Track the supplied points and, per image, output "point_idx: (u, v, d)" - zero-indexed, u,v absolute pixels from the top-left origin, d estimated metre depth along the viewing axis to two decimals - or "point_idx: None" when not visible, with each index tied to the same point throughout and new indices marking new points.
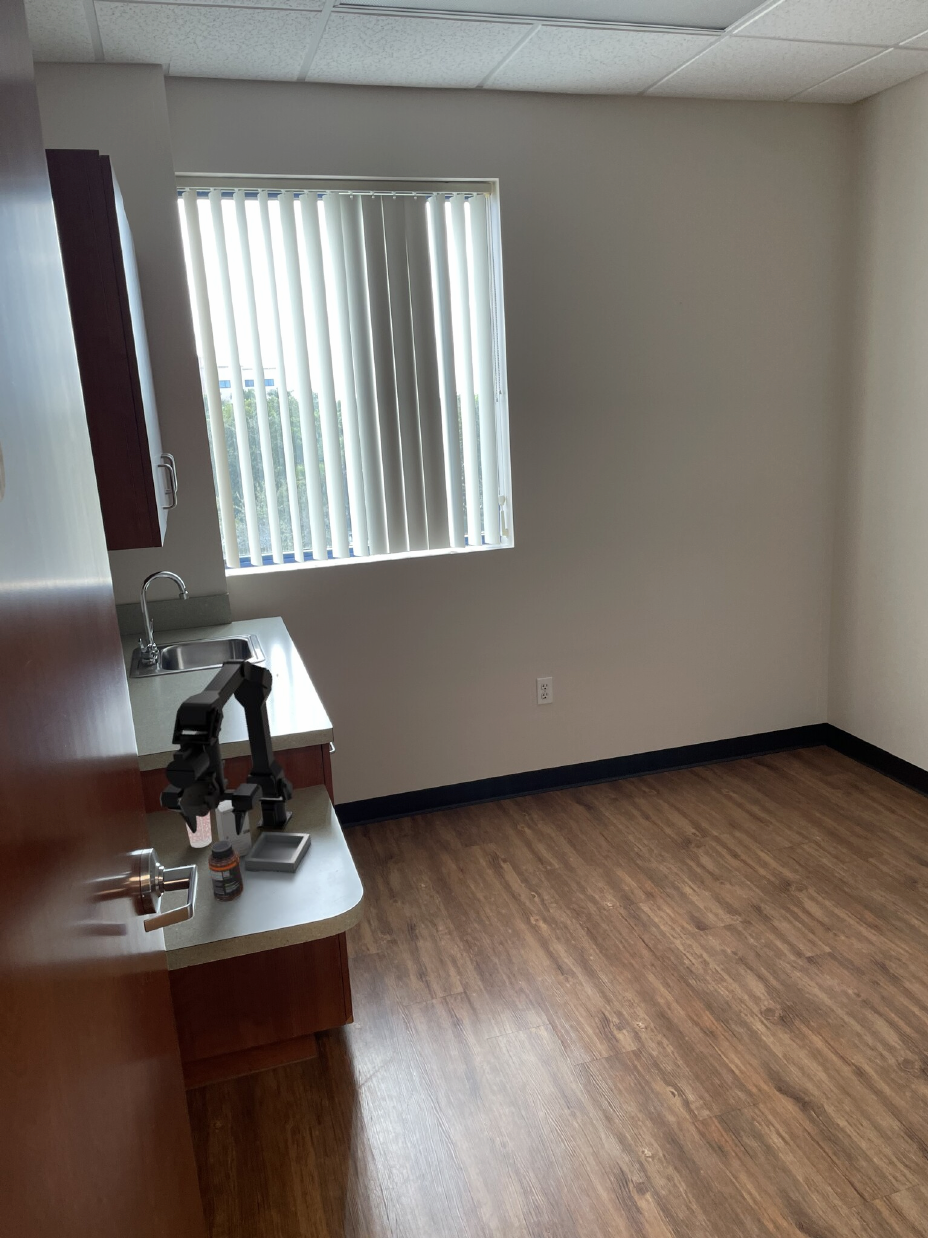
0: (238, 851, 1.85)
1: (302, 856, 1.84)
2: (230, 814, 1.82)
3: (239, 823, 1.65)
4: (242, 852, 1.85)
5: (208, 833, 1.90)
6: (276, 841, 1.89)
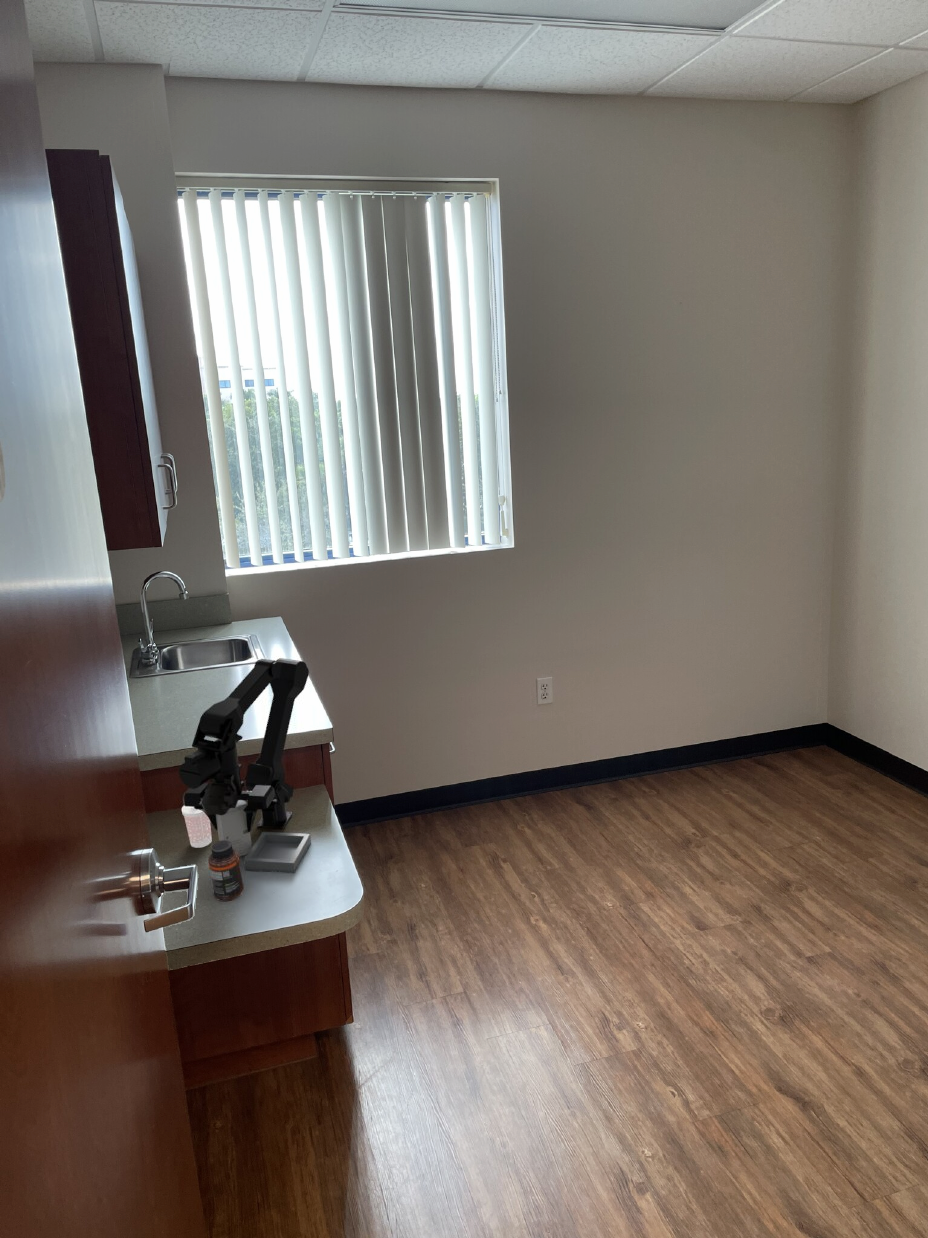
0: (238, 851, 1.85)
1: (302, 856, 1.84)
2: (230, 814, 1.82)
3: (250, 821, 1.83)
4: (242, 852, 1.85)
5: (208, 833, 1.90)
6: (276, 841, 1.89)
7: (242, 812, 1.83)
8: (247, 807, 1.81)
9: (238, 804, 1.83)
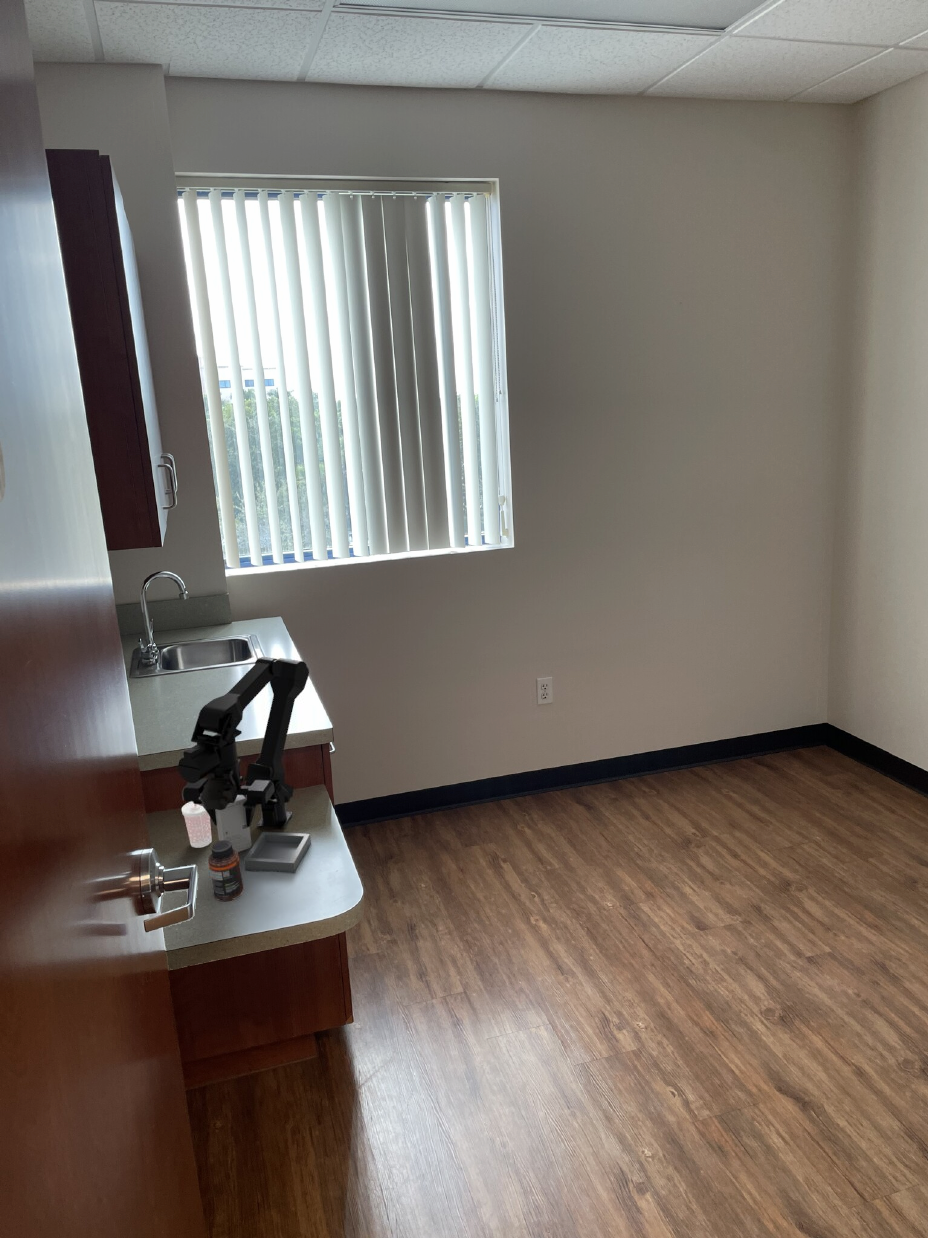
0: (237, 846, 1.84)
1: (302, 856, 1.84)
2: (229, 808, 1.81)
3: (249, 816, 1.82)
4: (241, 847, 1.85)
5: (208, 833, 1.90)
6: (276, 841, 1.89)
7: (241, 807, 1.83)
8: (246, 802, 1.80)
9: (237, 799, 1.83)
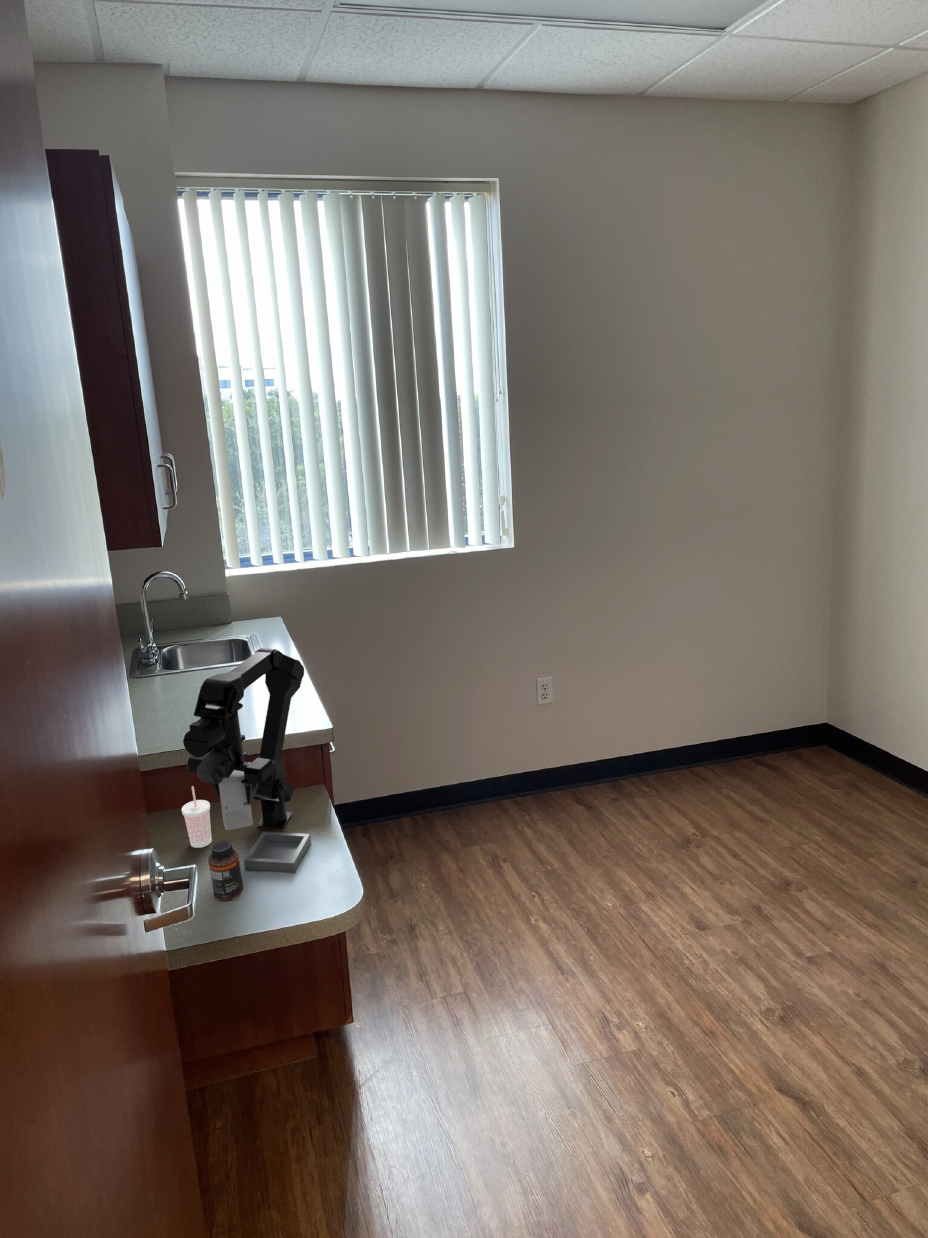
0: (238, 822, 1.82)
1: (302, 856, 1.84)
2: (230, 783, 1.79)
3: (249, 793, 1.79)
4: (242, 823, 1.82)
5: (208, 833, 1.90)
6: (276, 841, 1.89)
7: (242, 783, 1.80)
8: (245, 779, 1.77)
9: (239, 775, 1.80)
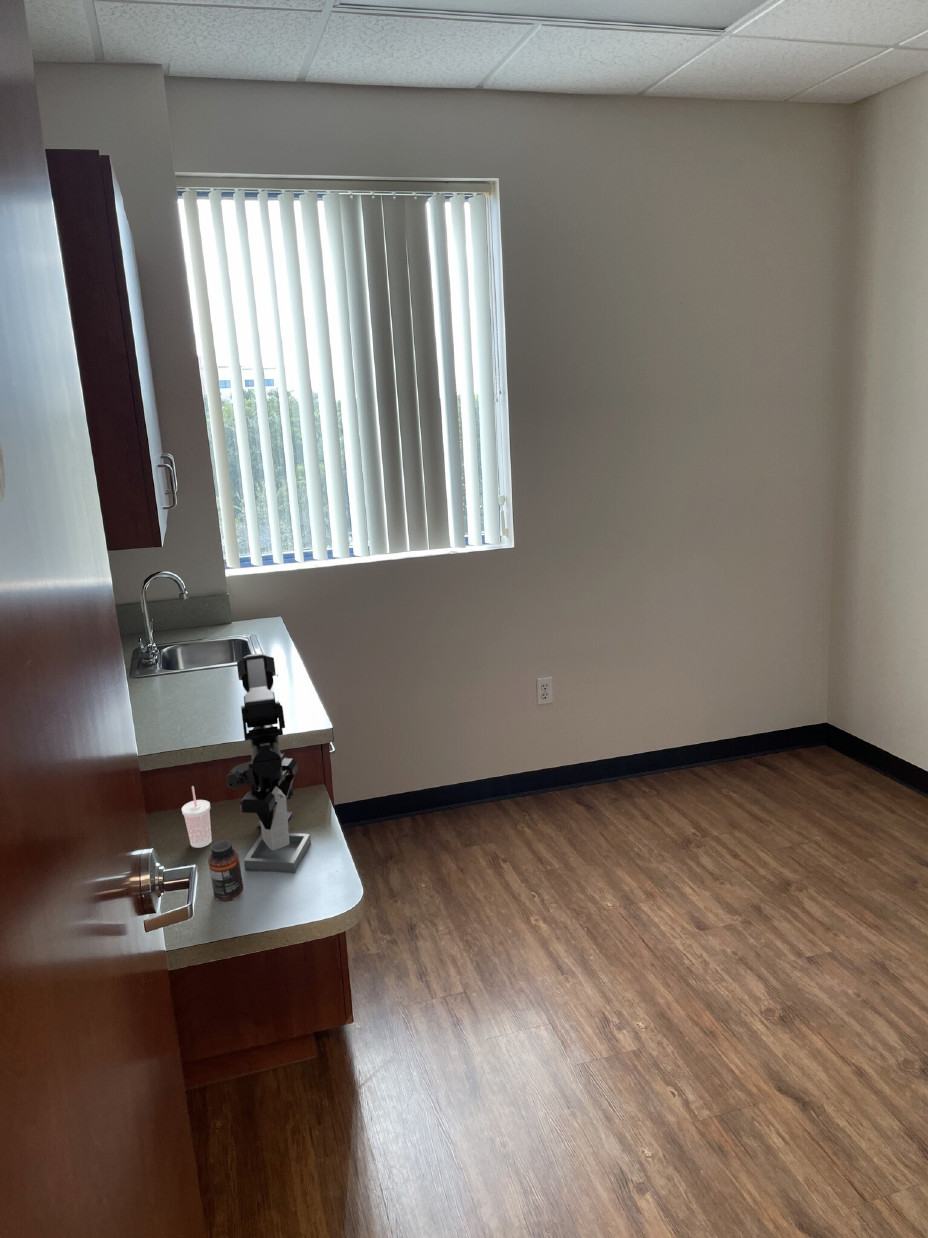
0: (265, 839, 1.82)
1: (302, 856, 1.84)
2: None
3: None
4: (267, 842, 1.82)
5: (208, 833, 1.90)
6: None
7: None
8: None
9: None
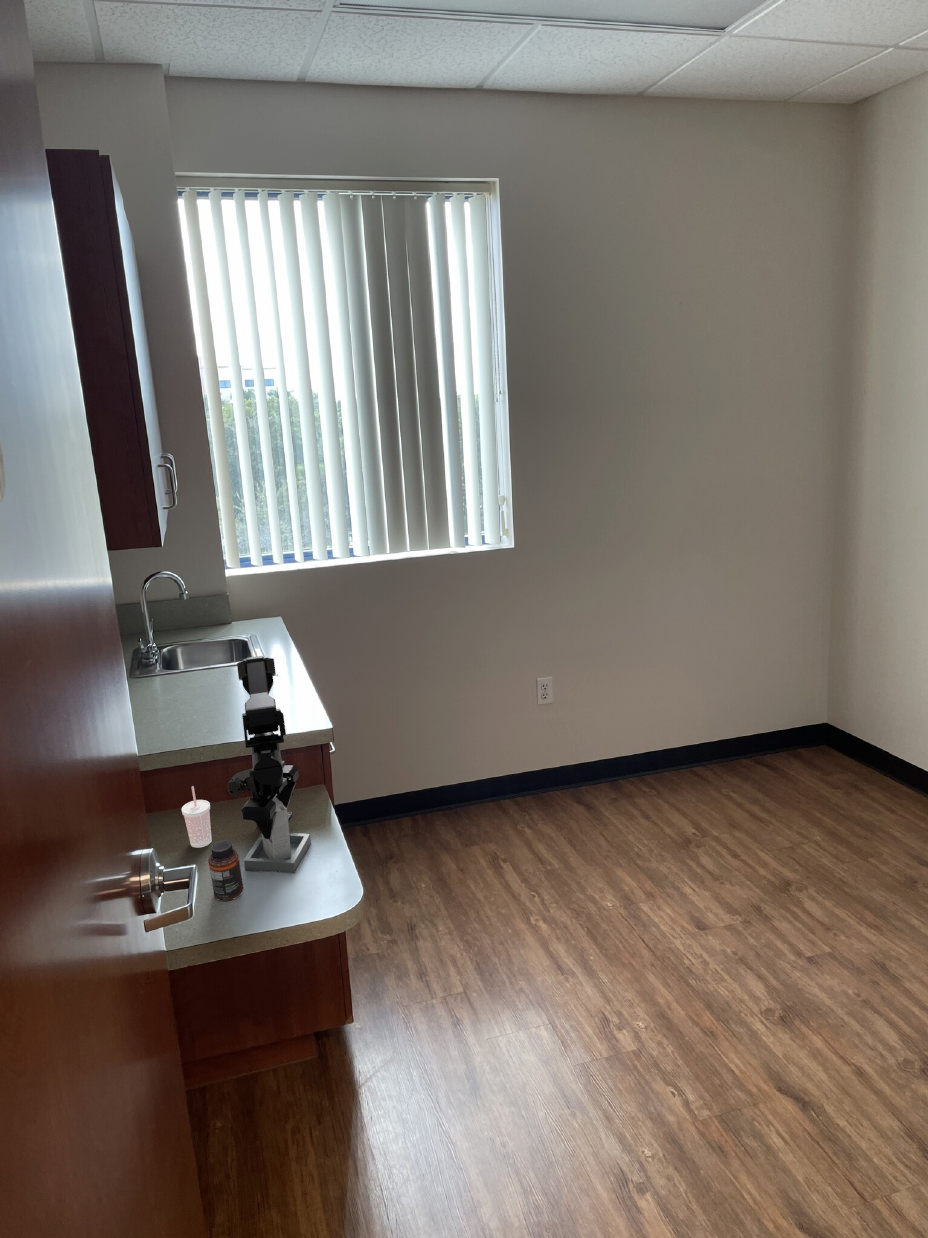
0: (267, 851, 1.83)
1: (302, 856, 1.84)
2: None
3: None
4: (269, 855, 1.83)
5: (208, 833, 1.90)
6: None
7: None
8: None
9: None
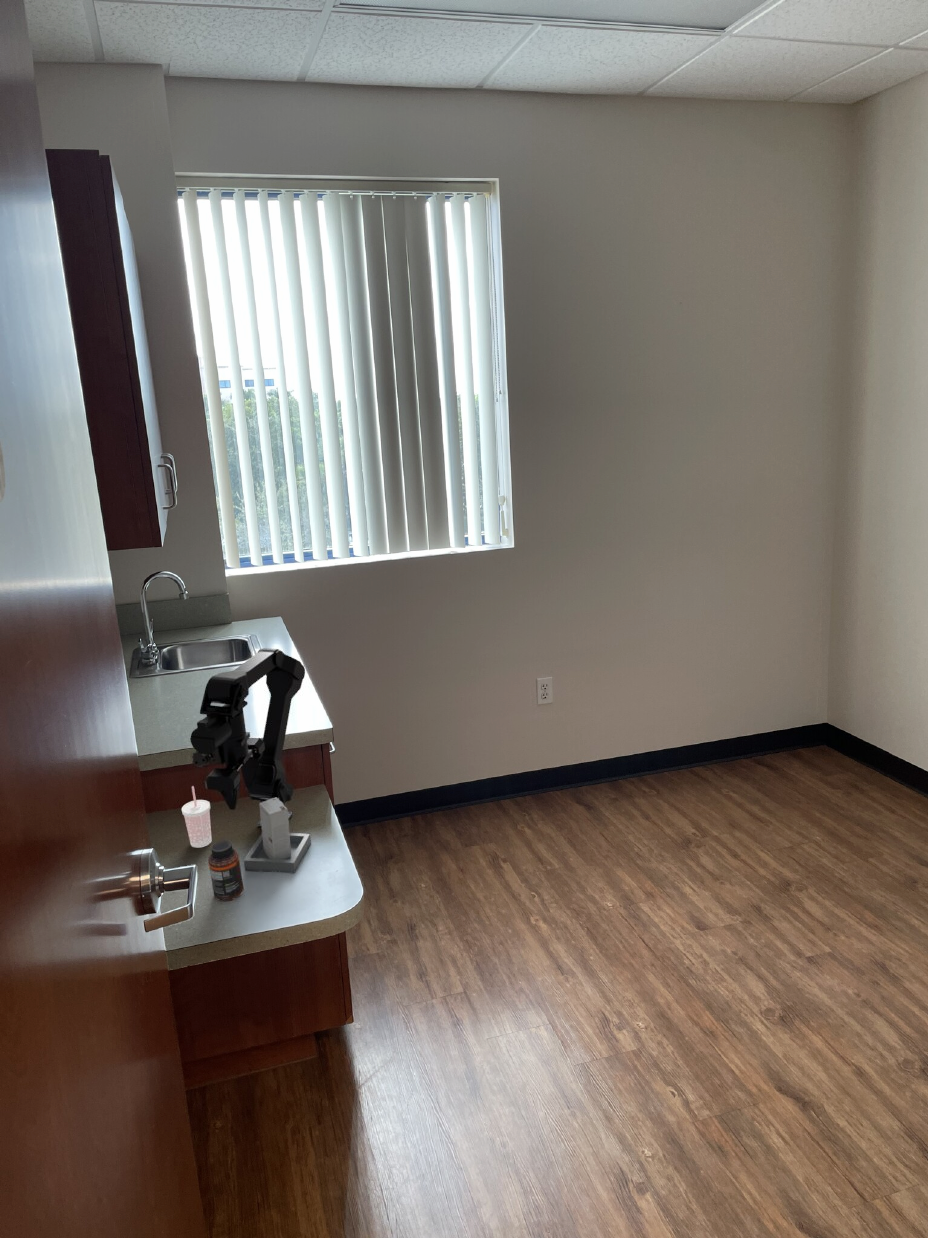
0: (267, 851, 1.83)
1: (302, 856, 1.84)
2: (263, 812, 1.81)
3: None
4: (269, 855, 1.83)
5: (208, 833, 1.90)
6: None
7: (268, 819, 1.79)
8: None
9: (269, 810, 1.79)
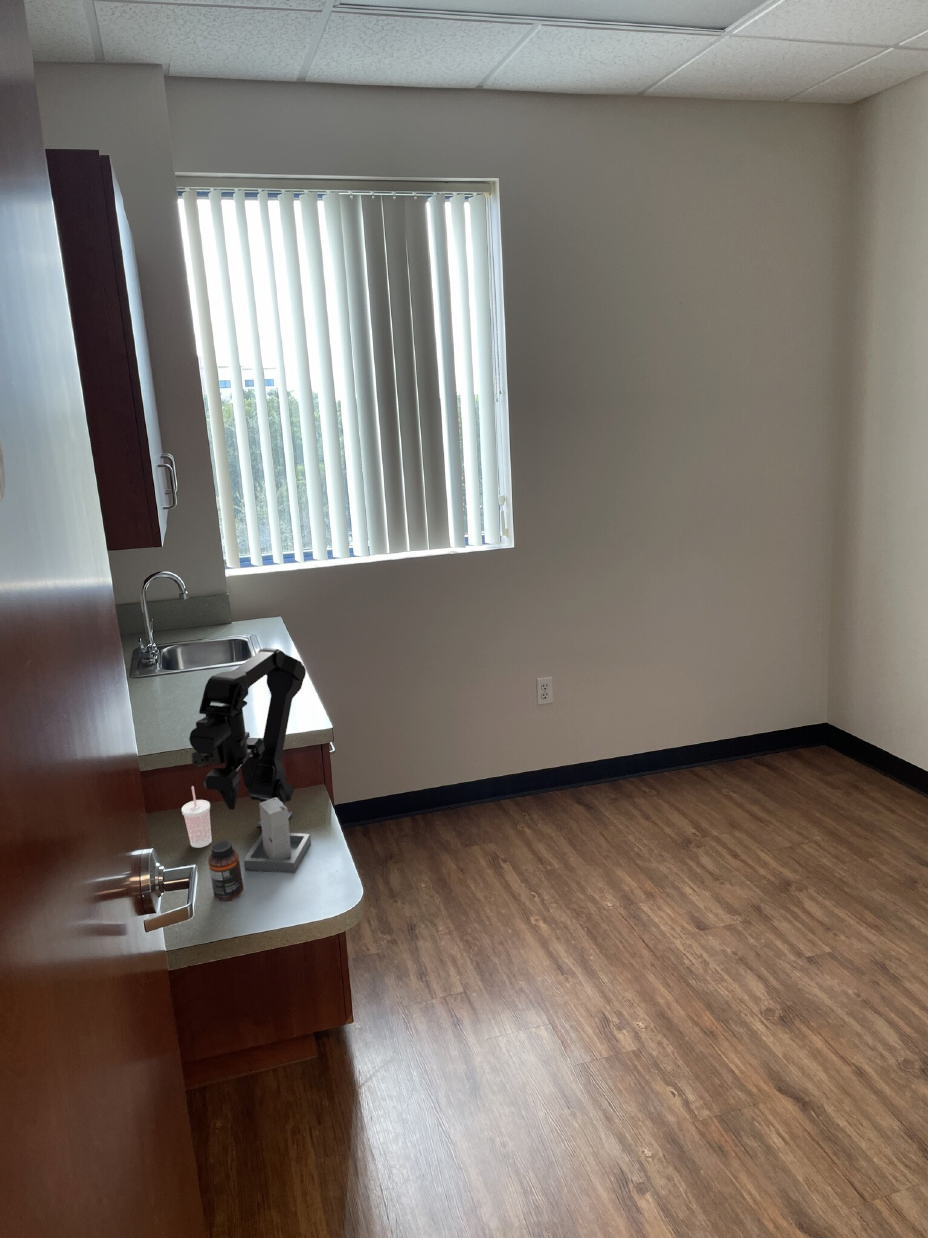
0: (267, 851, 1.83)
1: (302, 856, 1.84)
2: (263, 812, 1.81)
3: None
4: (269, 855, 1.83)
5: (208, 833, 1.90)
6: None
7: (268, 819, 1.79)
8: None
9: (269, 810, 1.79)
